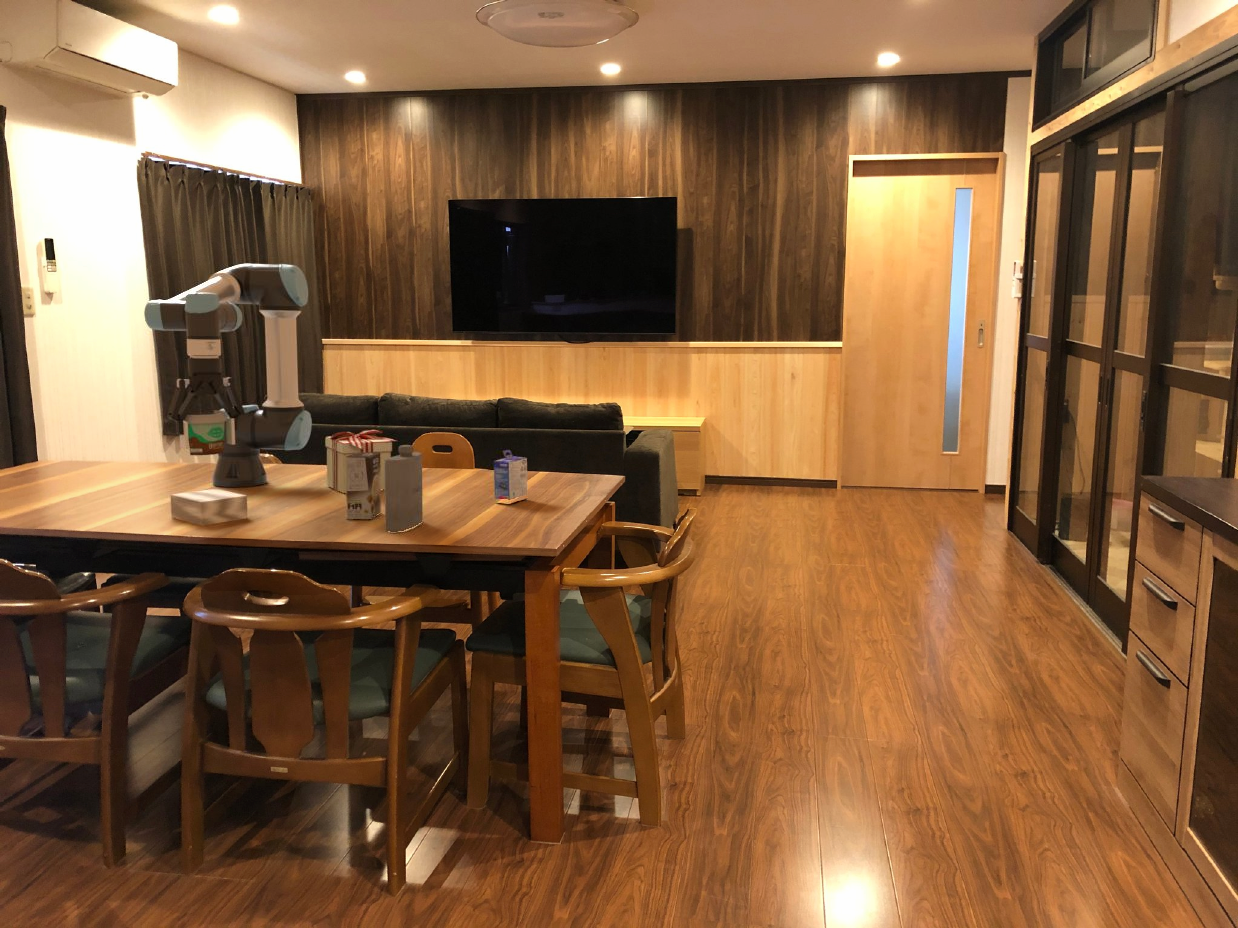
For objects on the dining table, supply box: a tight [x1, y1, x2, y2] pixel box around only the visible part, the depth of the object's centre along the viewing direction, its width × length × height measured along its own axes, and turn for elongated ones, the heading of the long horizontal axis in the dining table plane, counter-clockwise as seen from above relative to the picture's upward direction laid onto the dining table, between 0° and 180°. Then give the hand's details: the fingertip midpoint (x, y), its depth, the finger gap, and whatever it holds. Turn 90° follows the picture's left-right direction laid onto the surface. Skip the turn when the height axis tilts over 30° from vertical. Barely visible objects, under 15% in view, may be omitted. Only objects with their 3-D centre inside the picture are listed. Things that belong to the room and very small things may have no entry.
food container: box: [184, 409, 227, 456], centre depth 235 cm, size 12×6×10 cm, turn 168°
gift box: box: [324, 429, 397, 494], centre depth 280 cm, size 17×18×17 cm
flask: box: [384, 444, 424, 532], centre depth 230 cm, size 15×6×20 cm, turn 170°
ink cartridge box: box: [493, 449, 528, 500], centre depth 266 cm, size 10×6×14 cm, turn 155°
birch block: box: [170, 488, 248, 526], centre depth 237 cm, size 12×14×6 cm
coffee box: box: [346, 452, 382, 520], centre depth 241 cm, size 9×6×16 cm
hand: (208, 446), depth 234 cm, fingers closed on food container, 11 cm apart
